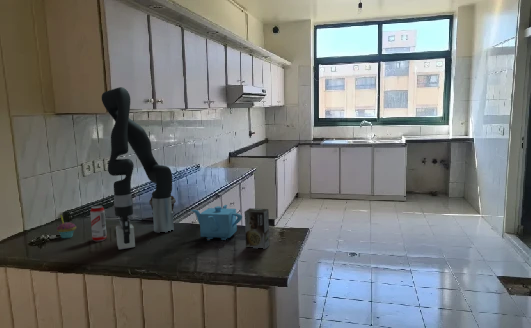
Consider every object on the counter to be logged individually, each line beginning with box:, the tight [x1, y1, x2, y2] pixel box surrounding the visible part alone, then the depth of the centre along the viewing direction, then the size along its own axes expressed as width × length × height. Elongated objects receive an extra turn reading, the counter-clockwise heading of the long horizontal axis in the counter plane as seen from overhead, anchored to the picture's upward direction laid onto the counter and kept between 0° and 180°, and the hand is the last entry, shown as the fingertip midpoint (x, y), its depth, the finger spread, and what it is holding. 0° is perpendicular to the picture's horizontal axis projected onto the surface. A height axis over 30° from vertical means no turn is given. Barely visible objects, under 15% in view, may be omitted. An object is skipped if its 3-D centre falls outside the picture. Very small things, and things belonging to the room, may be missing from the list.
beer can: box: [89, 205, 107, 243], centre depth 188 cm, size 6×6×16 cm
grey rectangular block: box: [115, 223, 136, 250], centre depth 176 cm, size 7×7×9 cm
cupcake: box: [56, 213, 77, 239], centre depth 194 cm, size 9×8×12 cm
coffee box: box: [244, 207, 270, 250], centre depth 172 cm, size 9×6×16 cm
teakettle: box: [190, 204, 243, 241], centre depth 187 cm, size 19×19×15 cm
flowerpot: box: [148, 195, 176, 215], centre depth 229 cm, size 14×15×20 cm
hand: (126, 240), depth 176 cm, fingers closed on grey rectangular block, 6 cm apart
